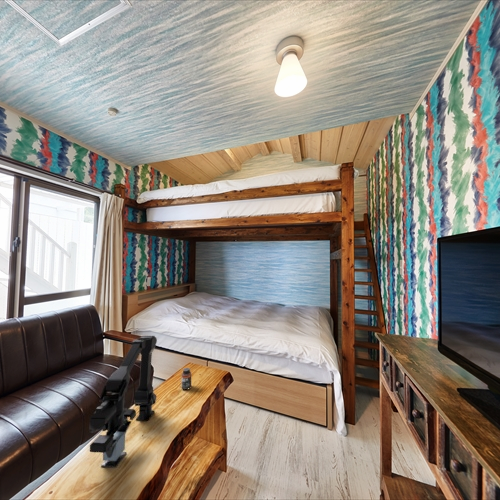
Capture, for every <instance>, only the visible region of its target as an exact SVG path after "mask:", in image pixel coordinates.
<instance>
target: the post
mask: <svg viewBox="0 0 500 500" xmlns="http://www.w3.org/2000/svg"><path fill="white" fill-rule="evenodd" d="M126 455H127V451H123V452H122V453H121V455H120V456H119V457H118V459H117V460H116V461H107V460H103V462H102V464H101V465H100V467H101V468H114V469H115V468H118V466H119V465H120V463H121V461H122V460H123V459H124V458H125V456H126Z"/></svg>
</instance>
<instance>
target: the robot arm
mask: <svg viewBox="0 0 500 500" xmlns="http://www.w3.org/2000/svg"><path fill="white" fill-rule="evenodd" d="M157 343H158V341H157V337H156V336H155V335H142V336H140V337H139V338H136V339H133V340H132V341H131V346H130V348H129V350H128V352H127V354H126V355H125V357H124V359H123V360H122V361H121V364H120V365H119V368H117V369H116V370H114V371H113V372H112V373H111V375H109V377H108V379H107V380H106V382H105V383H104V386H103V389H102V391H101V394H100V396H99V399H98V401H99V402H102V403H101V404H100V405H99V406H97V407H96V408H95V411H94V413H93V414H91V416H90V418H89V433H91V434H93V433H96V432H97V431H100V430H101V431H102V432H105V434H98V436H97V437H96V438H95V439H94V441H92V442H91V443H90V445H89V452H90V453H101V454H103V453H104V452H106V455H107V457H108V458H110V457H111V456H112V453H113V450H114V447H115V443H116V440H114V434H115V433H116V432H125V435H126V433H127V431H128V429H129V427H130V425H131V424H132V421H133V420H134V419H135V420H136V421H145V422H146V421H149V420H150V419H151V417H152V416H153V415H154V413H155V412H156V411H155V410H154V409H153V405H155V404H156V401H157V394H156V393H155V392H154V386H153V384H152V383H151V371H152V357H153V352H154V350H155V348H156V345H157ZM140 355H141V356H140ZM139 356H140V368H139V369H140V373H139V385H138V387H137V389H136V390H135V391H134V397H133V401H134V405H135V407H136V406H137V407H139V408H138V409H139V410H138V415H137V411H136V410H135V408H127V407H125V399H126V398H125V396H126V395H125V394H126V393H127V392H128V387H129V385H130V384H129V383H130V380H131V371H132V370H133V368H134V365H136V362H137V359H138V358H139ZM136 416H137V417H136ZM135 417H136V418H135ZM128 418H129V419H128Z"/></svg>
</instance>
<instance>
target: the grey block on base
mask: <svg viewBox="0 0 500 500" xmlns="http://www.w3.org/2000/svg"><path fill="white" fill-rule="evenodd" d="M114 440H116V443H115V447H114V450H113V453H112V456H111V457H110V458H108V457H107V455H106V452H104V453H102V461H105V460H107V461H116V460H117V459H118V457H119V456H120V455H121V453H122V452H125V450H126V434H125V432H116V433H115V434H114Z"/></svg>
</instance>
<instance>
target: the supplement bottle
mask: <svg viewBox="0 0 500 500" xmlns="http://www.w3.org/2000/svg"><path fill="white" fill-rule="evenodd" d="M190 387H191V388H192V371H191V368H190V367H185V368H183V369H182V373H181V390H182V389H188V388H190ZM191 388H190V389H191ZM188 390H189V389H188Z"/></svg>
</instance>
